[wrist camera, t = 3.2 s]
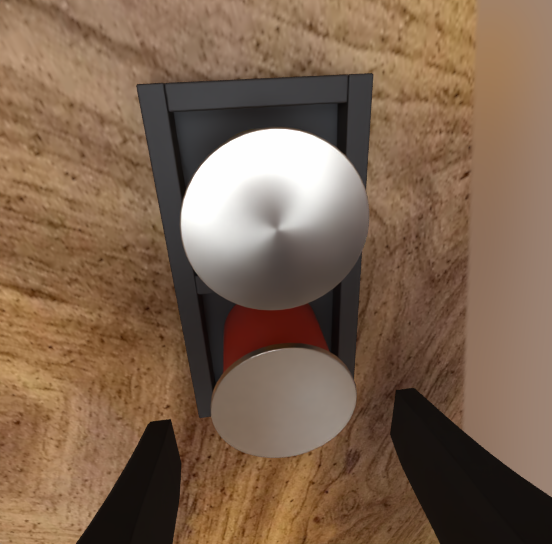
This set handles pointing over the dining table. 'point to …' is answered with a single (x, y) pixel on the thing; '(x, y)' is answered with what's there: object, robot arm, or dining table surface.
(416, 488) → the robot arm
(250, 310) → the red pod
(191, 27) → the dining table surface
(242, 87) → the pod holder
